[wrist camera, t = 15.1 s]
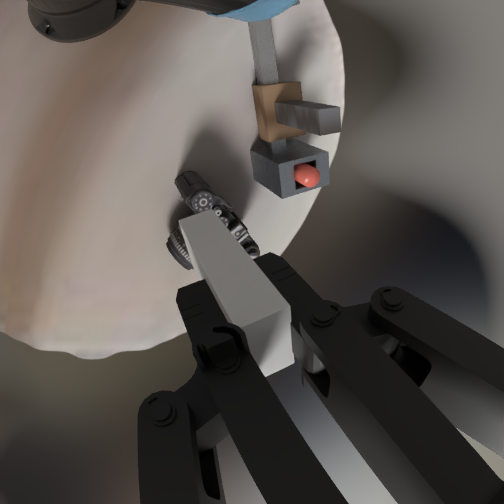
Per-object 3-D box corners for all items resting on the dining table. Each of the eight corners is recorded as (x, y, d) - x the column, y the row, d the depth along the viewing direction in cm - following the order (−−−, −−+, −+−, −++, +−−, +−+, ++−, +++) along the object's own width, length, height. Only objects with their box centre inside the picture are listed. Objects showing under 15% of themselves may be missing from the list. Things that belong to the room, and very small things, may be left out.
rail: (223, -16, 28) (249, -36, 21) (275, -16, 30) (309, -31, 24) (254, 179, 47) (282, 198, 40) (299, 167, 49) (331, 183, 42)
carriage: (247, 86, 38) (304, 88, 27) (283, 81, 40) (348, 85, 28) (254, 136, 43) (310, 159, 31) (289, 129, 44) (351, 149, 33)
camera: (137, 213, 42) (144, 245, 34) (192, 162, 41) (212, 182, 34) (197, 266, 51) (216, 302, 43) (245, 223, 50) (272, 252, 43)
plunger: (285, 161, 41) (302, 170, 37) (301, 157, 41) (319, 165, 38) (286, 179, 42) (303, 189, 39) (303, 175, 43) (320, 184, 40)
